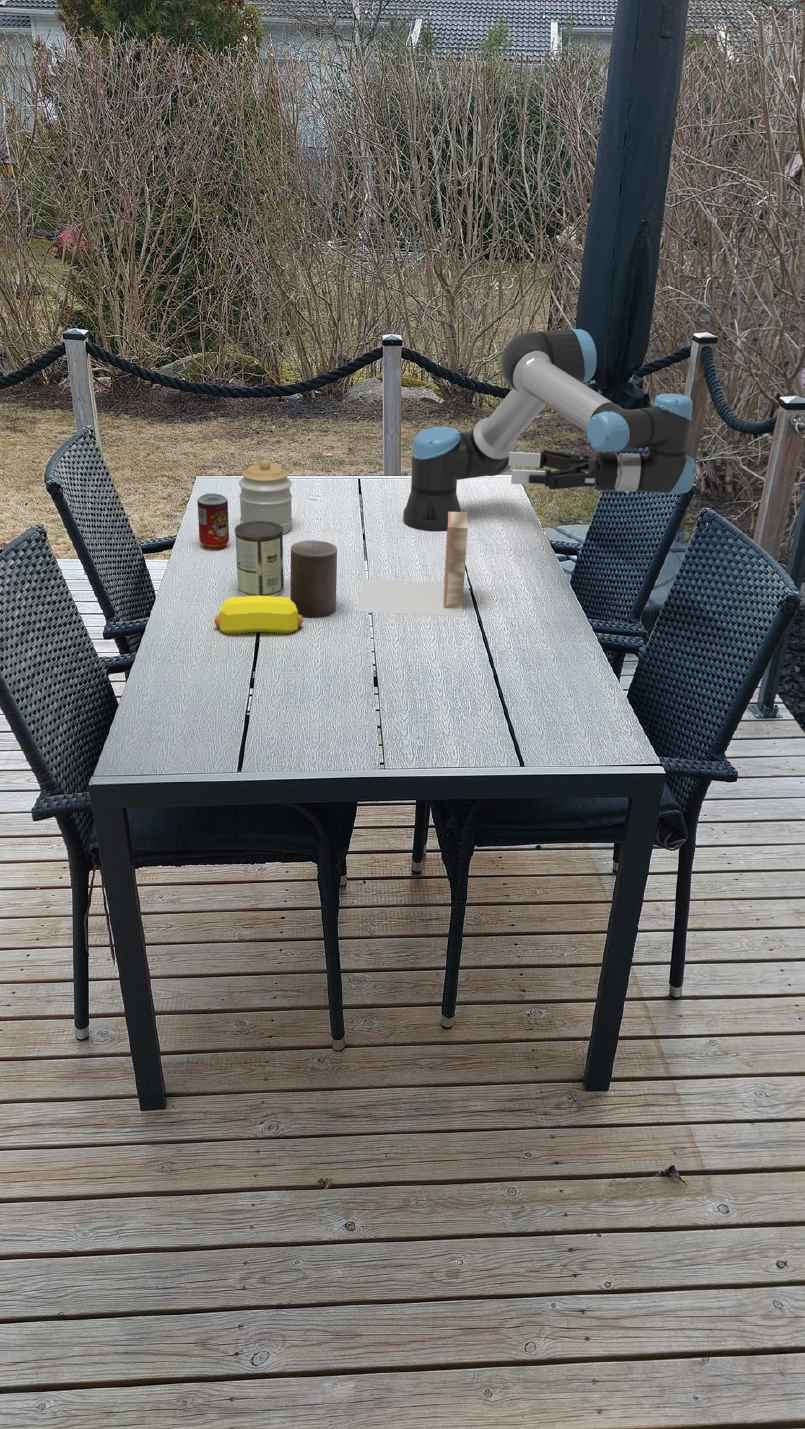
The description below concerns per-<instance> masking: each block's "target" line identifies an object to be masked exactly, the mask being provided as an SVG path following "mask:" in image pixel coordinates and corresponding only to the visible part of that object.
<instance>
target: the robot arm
mask: <svg viewBox="0 0 805 1429" xmlns="http://www.w3.org/2000/svg"><path fill="white" fill-rule="evenodd" d="M597 354H598V353H597V349H596V345H595V342H594V340H593V338H592V336H591V335H590V333H588V332H587V331H586V330H584V329H582V328H581V329H579V328H577V329H576V328H572V327H571V328H567V329H566V328H565V329H555V330H554V329H552V330H541V331H539V330H538V331H525V332H522V333H520V334H518V335H516V336H514V338H512V339H511V340H510V341H509V342H508V343H507V344H506V346H505V347H504V349H503V351H502V354H501V358H500V370H501V374H502V377H503V379H504V380H505V381H506V383H507V384H508V385H509V386H510V387H511V388H512V389H511V390H510V391H509V392H508V393H507V395H506V396H505V398H503V399H502V401H501V402H500V404H498V406H497V407H496V408H495V409H494V411H493V413H492V414H491V415H490V416H489V417H484V418H482V419H480V420H479V421H477V423H476V424H475V425H474V426H473V427H472V429H471V430H469V431H462V432H460V431H459V430H458V429H457V428H455V427H450V426H443V427H442V426H433V427H429V428H425V429H423V430H421V431H419V432H418V433H417V434H415V436H414V438H413V443H412V449H411V458H412V460H411V478H410V479H411V484H410V493H409V496H408V499H407V502H406V505H405V508H404V509H403V513H402V521H403V522H404V524H405V525H407V526H409V527H411V528H414V529H418V530H423V531H434V532H435V531H437V532H438V531H447V523H448V512H462V511H461V506H460V502H459V500H458V495H457V494H458V493H457V491H458V490H457V485H458V481H459V480H465V479H467V480H468V479H473V478H474V479H475V478H481V477H482V478H483V477H496V476H499V475H501V474H504V473H506V472H508V471H509V470H510V469H511V468H512V467H530V468H531V467H532V468H539V469H543V468H544V467H547V468H546V469H545V470H535V469H533V470H530V469H511V480H510V484H512V485H528V486H531V485H533V486H545V487H548V490H562V489H569V488H571V489H573V488H583V487H584V488H585V487H586V488H587V487H589V488H592V487H594V488H595V490H596V491H607V492H609V491H610V492H611V491H614V489H615V490H616V491H617V492H625V494H627V495H629V494H630V493H631V492H635V493H636V492H639V493H640V492H641V493H643V492H644V493H652V494H653V493H656V494H657V493H658V494H666V495H670V494H671V495H672V494H687V493H688V492H690V490H691V489H692V487H693V485H694V481H695V477H696V475H695V474H696V473H695V472H696V463H695V462H696V461H695V459H694V458H693V457H692V456H690V455H687V445H688V440H689V436H690V429H691V423H692V421H693V420H692V419H693V418H692V416H693V405H694V404H693V400H692V399H691V397H689V396H686V395H684V394H680V393H660V394H658V395H656V396H655V398H654V402H653V404H652V406H653V407H652V406H651V407H645V408H644V407H643V408H636V409H633V408H632V409H624V408H623V407H622V406H619V405H618V404H616V403H614V402H612V401H611V400H609V399H608V398H606V397H605V396H603V395H602V394H601V393H598V392H597V391H596V390H593V389H592V388H590V387H589V386H587V385H586V384H585V383H587V382H589V381H590V380H592V378H593V376H594V375H595V373H596V369H597V358H598V357H597ZM546 406H547V407H548V408H550V409H552V410H553V411H554V412H556V413H558V414H559V415H560V416H561V417H563V418H565V419H567V420H568V421H569V422H571V423H572V424H573V425H576V426H577V427H578V428H580V429H582V430H583V431H584V432H586V437H587V438H586V439H587V442H588V443H590V447H591V448H592V449H593V450H594V451H596V452H598V454H597V456H596V460H595V461H591V460H590V456H589V455H577V454H571V453H566V452H559V451H553V450H547V449H544V450H543V452H540V453H539V452H524V451H523V452H521V451H520V452H519V451H517V444H516V440H518V438H519V437H520V436H521V434H523V432H524V431H525V430H526V429H527V427H529V425H530V424H531V423H532V422H533V421H534V419H535V418H536V417H537V416H538V415H539V414H540V413H541V412H542V411H543V409H544V408H545V407H546ZM643 448H644V449H645V448H647V451H648V452H647V453H646V454H644V453H627V452H625V453H624V452H620V451H628V450H635V449H643ZM618 452H620V453H619V454H618V455H617V454H616V453H618ZM548 468H551V469H556V471H552V470H550V469H548Z"/></svg>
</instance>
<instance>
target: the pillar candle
mask: <svg viewBox="0 0 805 1429" xmlns="http://www.w3.org/2000/svg"><path fill="white" fill-rule="evenodd" d="M337 567H338V547H337V545H335V544H332V543H331V542H328V541H322V540H313V539H312V540H311V539H307V540H302V541H297V542H295V543H293V544H292V545H291V547H290V580H289V581H290V583H289V584H290V595H289V596H290V597H289V599H290V600H291V601H292V602H293V603H294V604H295V605H296V608H297V611H298V614H299V615H301V616H302V617H305V618H309V619H311V618H315V619H316V618H324V617H328V616H332V615H333V614H334V613H335V612H336V610H337V584H338V583H337V581H338V580H337V579H338V578H337V577H338V576H337V574H338V573H337V571H338V569H337Z"/></svg>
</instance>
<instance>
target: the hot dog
mask: <svg viewBox="0 0 805 1429" xmlns="http://www.w3.org/2000/svg"><path fill="white" fill-rule="evenodd" d="M218 613H219V614H218V615H215V618H214V621H213V622H214V624H215V626H216V627H217V628H219V631H221V632H223V633H225V634H229V635H232V634H234V635H235V634H244V633H245V634H248V632H250V633H272V634H273V633H274V632H275V633H274V634H277V633H278V634H290V632H291V633H293V632H295V631H297V630H298V629H299V628H298V627H301V626H302V625H303V622H304V619H303V616H301V615H299V614H298V611H297V608H296V605H295V604H294V603H293V602H292V601H291V600H290V597H289V596H288V597H287V596H286V597H285V596H275V597H274V596H235V597H233V596H232V597H227V599H225V601H224V602H223V603H222V604H221V605H220V609H219V612H218Z"/></svg>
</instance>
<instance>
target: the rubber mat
mask: <svg viewBox="0 0 805 1429" xmlns="http://www.w3.org/2000/svg"><path fill="white" fill-rule="evenodd" d="M443 603H444V582H425V581H406V580H405V581H404V580H385V579H384V580H383V579H363V580H362V585H361V590H360V597H359V602H358V608H357V612H358V613H359V612H360V613H376V614H377V613H378V614H395V615H396V614H397V615H398V614H400V615H417V616H419V615H420V616H439V617H458V618H459V617H460V618H461V617H462V618H463V608H462V609H454V608H443Z"/></svg>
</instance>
